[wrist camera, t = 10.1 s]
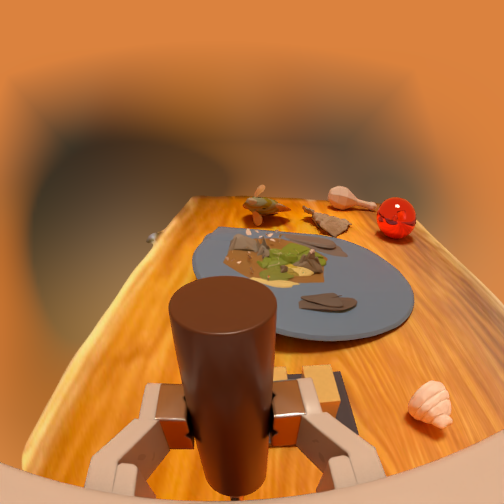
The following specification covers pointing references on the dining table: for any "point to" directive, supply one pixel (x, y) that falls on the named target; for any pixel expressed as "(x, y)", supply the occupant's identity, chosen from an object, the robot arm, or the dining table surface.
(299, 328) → the serving platter
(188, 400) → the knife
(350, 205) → the faceted beige polyhedron
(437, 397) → the peach ridged curved piece
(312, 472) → the dining table surface
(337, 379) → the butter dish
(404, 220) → the ball
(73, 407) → the dining table surface
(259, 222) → the decorative fish sculpture
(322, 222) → the coral
